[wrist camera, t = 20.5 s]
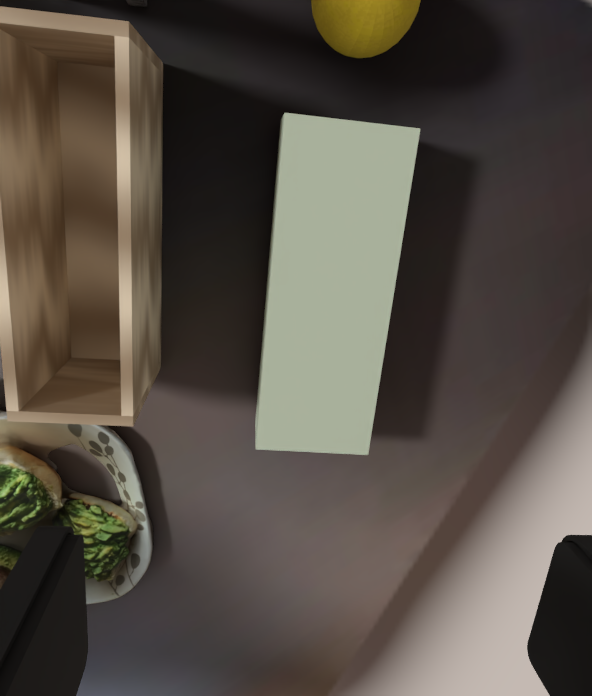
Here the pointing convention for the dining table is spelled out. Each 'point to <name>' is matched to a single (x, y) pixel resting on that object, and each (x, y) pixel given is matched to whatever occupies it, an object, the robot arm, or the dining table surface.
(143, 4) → the keeper
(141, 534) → the avocado toast plate
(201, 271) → the dining table surface
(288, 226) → the pale green block
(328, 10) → the lemon
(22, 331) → the beige mottled boxy piece
